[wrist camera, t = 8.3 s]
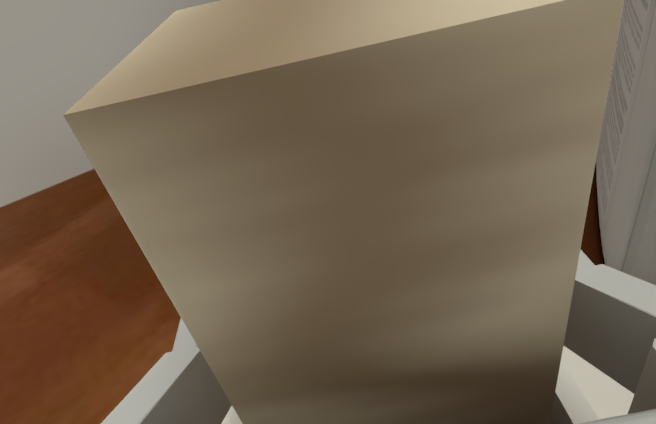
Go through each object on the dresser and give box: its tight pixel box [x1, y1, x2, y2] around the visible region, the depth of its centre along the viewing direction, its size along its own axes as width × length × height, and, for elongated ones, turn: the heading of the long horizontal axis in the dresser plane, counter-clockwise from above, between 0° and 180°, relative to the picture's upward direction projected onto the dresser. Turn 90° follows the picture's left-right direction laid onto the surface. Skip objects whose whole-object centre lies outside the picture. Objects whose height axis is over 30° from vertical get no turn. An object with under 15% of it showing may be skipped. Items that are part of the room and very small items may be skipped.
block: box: [64, 0, 624, 424], centre depth 9 cm, size 5×5×12 cm
